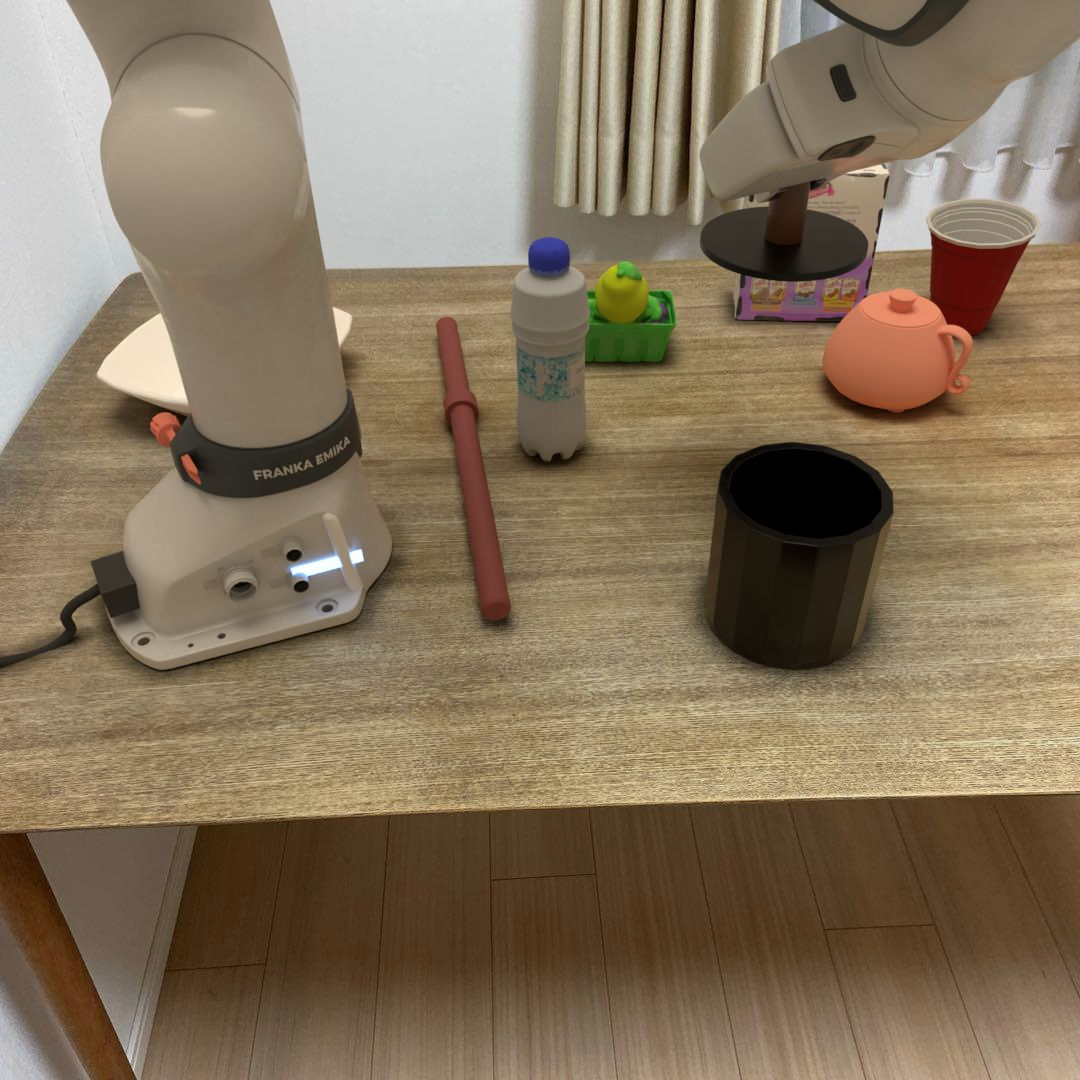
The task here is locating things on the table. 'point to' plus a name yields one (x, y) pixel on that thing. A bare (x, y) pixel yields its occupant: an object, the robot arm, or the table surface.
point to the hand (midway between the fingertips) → (784, 186)
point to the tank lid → (784, 240)
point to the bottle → (550, 350)
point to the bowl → (163, 364)
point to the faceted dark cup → (795, 553)
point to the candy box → (833, 297)
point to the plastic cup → (975, 256)
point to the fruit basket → (628, 318)
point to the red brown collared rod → (472, 475)
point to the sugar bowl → (896, 352)
